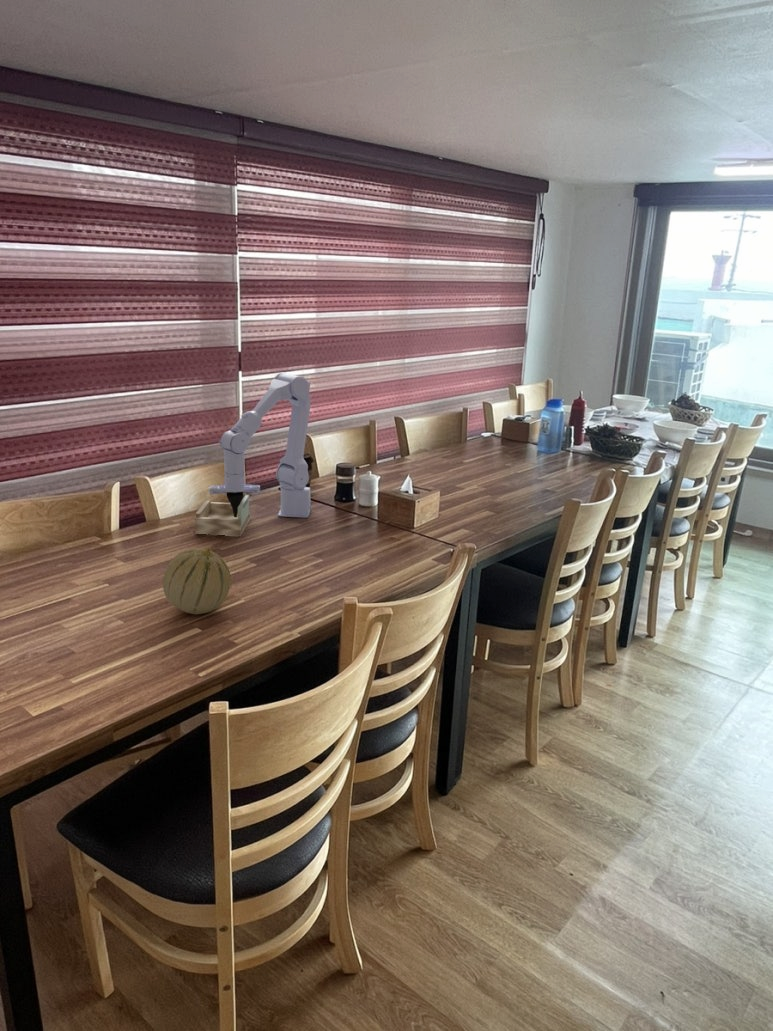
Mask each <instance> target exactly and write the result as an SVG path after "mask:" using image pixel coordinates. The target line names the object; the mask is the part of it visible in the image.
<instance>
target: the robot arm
mask: <svg viewBox="0 0 773 1031" xmlns="http://www.w3.org/2000/svg"><path fill="white" fill-rule="evenodd" d="M310 389H311V383H310V382H309V381H308V380H307V378H305V377H304V376H302V375H295V374H291V373H287V372H284V371H282V372H278V373H277V374H276V375H275V376H274V378H273V379H272V380H271V381H270V385H269V388H268V389H267V390H266V392H265V393H264V394H263V396H262V397H261V399H260V400H259V401H258V403H257V404H256V405H255V407H254V408H253V409H252V410H250V411H249V410H248V411H246V412H243V413H242V414H241V416H240V418H239V419H238V421H237V422H236V423H235V424H234V425H233V426H232V427H231V428H230V429H231V430H228V431H225V432H224V433H223V434H222V435H221V438H220V440H219V441H218V442H219V445H220V447H221V448H222V452H223V458H224V459H223V465H224V467H223V468H224V484H221V485H213V486H212V485H211V486H209V489H208V490H209V495H218V494H226V498H227V499H228V503H230V504H231V506H232V509H233V513H234V517H237V512H238V506H239V505H240V503H241V502H242V500H243V499H244V494H248V493H249V494H252V493H256V494H261V486H260V484H245V477H246V476H245V451H247V450H248V448H249V444H250V440H251V438H252V437H253V436H254V434H256V432H257V431H258V429H259V428H260V427H261V426H262V424H263V421H262V419H263V418H264V417H265V416H266V415H267V414H268V412H270V410H271V409H272V408H273V407H274V406H275V405H277V403H278V402H279V401H282V400H287V401H288V402H289V403H290V405H291V411H290V412H291V413H290V419H289V421H290V422H289V427H288V435H287V444H286V450H285V455H284V456H283V457H281V459H280V460H279V465H278V466H277V468H276V470H275V471H276V472H275V477H276V479H277V481H278V482H279V486H280V509H279V511H278V513H277V516H278V517H283V518H285V517H287V518H288V517H289V518H304V519H305V518H307V519H308V518H309V515H310V513H311V508H312V505H311V493H312V492H311V487H310V488H309V487H305V486H306V484H307V483H308V480H309V475H308V465H307V463H306V461H305V460H304V458H303V455H304V453H305V447H306V440H307V434H308V433H307V432H308V426H309V417H310V411H311V405H312V404H311V403H312V401H311V400H312V399H311V395H310Z"/></svg>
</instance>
